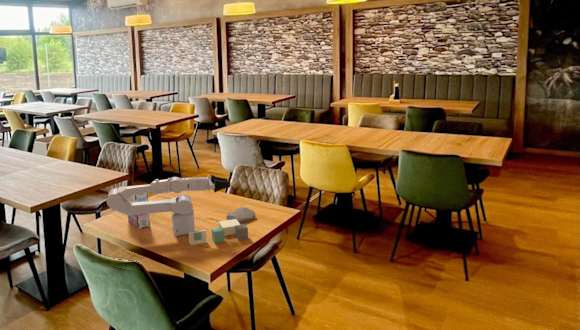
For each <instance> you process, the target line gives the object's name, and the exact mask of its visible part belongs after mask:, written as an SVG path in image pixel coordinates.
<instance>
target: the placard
mask: <svg viewBox="0 0 580 330" xmlns="http://www.w3.org/2000/svg"><path fill="white" fill-rule="evenodd" d="M207 243H208V241H207V229H203V230H196V231H195V232H189V234H188V244H189V246H194V245H201V244H207Z"/></svg>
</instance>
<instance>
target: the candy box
mask: <svg viewBox="0 0 580 330" xmlns="http://www.w3.org/2000/svg"><path fill="white" fill-rule="evenodd" d="M148 198H149V196H148V193H143V194H138V195H133V196H131V197H130V198H129V200H130V201H131V202H145V201H149V199H148ZM127 219H128V222H129V223H130V224H131V225H132V226H134V227H135V228H136V229H138V230H141V229H145V228H150V227H151V221H150V213H148V214H136V215H127Z"/></svg>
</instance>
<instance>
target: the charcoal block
mask: <svg viewBox="0 0 580 330" xmlns="http://www.w3.org/2000/svg"><path fill="white" fill-rule="evenodd" d="M234 235H235V238H236V240H238V241H243V240H248V239H249V227H248V226H247V225H246V224H245V223H244V224H240V225H235V234H234Z"/></svg>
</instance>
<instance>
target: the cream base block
mask: <svg viewBox="0 0 580 330" xmlns="http://www.w3.org/2000/svg"><path fill="white" fill-rule="evenodd" d="M235 225H241V223H239V222H238V220H237V219H232V220H227V219H226V220H219V221H218V227H222V228H223V230H224V235H225V237H226V236H231V235H235Z"/></svg>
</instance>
